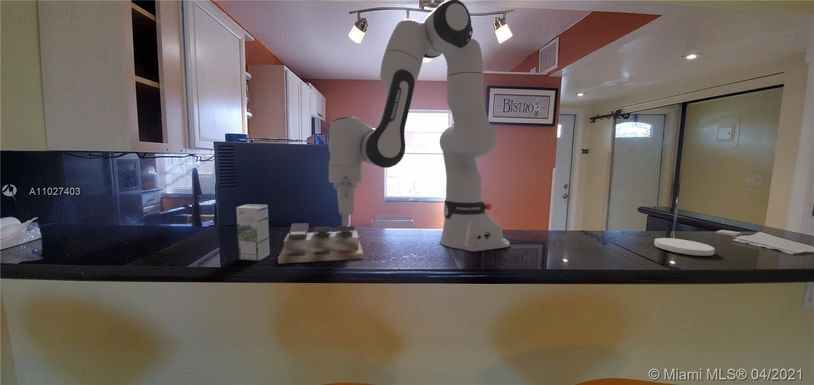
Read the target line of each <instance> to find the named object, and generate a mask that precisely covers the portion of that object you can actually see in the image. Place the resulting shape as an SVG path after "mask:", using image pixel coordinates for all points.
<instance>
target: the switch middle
mask: <svg viewBox="0 0 814 385" xmlns="http://www.w3.org/2000/svg"><path fill="white" fill-rule="evenodd" d="M312 230H313V232H312V233H318V232H332V227H330V226H321V227H320V226H318V227H317V226H316V227H313V229H312Z"/></svg>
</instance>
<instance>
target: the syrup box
mask: <svg viewBox="0 0 814 385" xmlns="http://www.w3.org/2000/svg"><path fill="white" fill-rule="evenodd" d="M236 226H237V241H238V242H237V243H238V258H239V261H255V262H258V261H261V260H263V259H265V258H267V257H268V256H270V254H271V253H270V252H271V251H270V237H269V235H270V232H269V207H268V204H256V203H255V204H254V203H253V204H252V203H251V204H250V203H249V204H247V203H246V204H243V205H240V206H237V207H236Z"/></svg>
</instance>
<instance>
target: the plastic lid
mask: <svg viewBox="0 0 814 385" xmlns="http://www.w3.org/2000/svg"><path fill="white" fill-rule="evenodd" d="M653 241H654V242H653V243H654V244H653V245H654V246H655V247H657V248H659V249H662V250H666V251H669V252H673V253H678V254H683V255H684V254H685V255H692V256H700V257H701V256H706V257H708V256H713V255H714V254H715V250H716V248H715V247H713V246H711V245H709V244H706V243H702V242H699V241H694V240H688V239H687V240H686V239H681V238H671V237H670V238H669V237H659V238H655V239H654V240H653Z"/></svg>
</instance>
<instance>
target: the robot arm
mask: <svg viewBox="0 0 814 385" xmlns="http://www.w3.org/2000/svg"><path fill="white" fill-rule="evenodd" d="M391 33H392V34H391V35H390V38H389V40H388V42H387V45H386V48H385V51H384V54H383V57H382V59H381V60H382V62H381V66H380V74H379V77H380V81H381V82H382V84H383V85H384V86H385V88H386V89H387V93H386V94H387V95H386V100H385V103H384V107H383V112H382V114H381V118H380V122H379V124H378V126H377V127H376V128H373V127H372V126H369V125H368V124H366V123H365V122H363V121H362V120H360V118H359V117H358V116H350V115H349V116H344V117H338V118H336V119H334V120H333V121H332V122H331V123H330V126H329V129H328V130H329V131H328V152H329V162H328V182H329V183H331V184H333V189H334V190H336V195H337V202H338V204H337V205H338V213H339V215H340V216H341V226H350V222H349V220H350V216H351V215H353V214H354V211H355V210H354V209H355V208H354V207H355V206H354V200H355V199H354V195H355V194H354V190H356V189H357V185H358V184H360V183H361V182H362V163H363V162H365V163H367V164H371V165H374V166H377V167H380V168H385V169H388V168H392V167H394V166H397V165H398V164H399V163H400V162H401V161H402V160H403V157H404V155H405V153H406V140H405V139H406V137H405V130H406V124H407V120H408V117H409V115H408V114H409V111H410V108H411V103H412V98H413V94H414V90H415V87H416V84H417V81H418V77H419V75H420V72H421V69H422V65H423V62H424V59H425V58H426V59H435V58H438V57H440V56H441V55H443V57H444V60H445V61H446V66H447V68H446V70H447V71H446V92H447V93H446V98H447V99H446V100H447V101H446V102H447V106H448V107H449V108H450V113H451V115H452V120H453V125H450V126H448V127H447V128H446V129H445V130H444V131H443V132H442V133H441V135H440V139H439V147H440V149H441V150H442V154H443V160H444V166H445V167H444V168H445V176H446V184H445V185H446V187H445V188H446V189H445V190H446V191H445V200H444V205H443V216H444V220H443V221H444V222H443V228H442V233H441V235H440V239H439V243H440V244H441V245H443V246H445V247H448V248H451V249H452V248H453V249H459V250H464V251H469V252H479V251H487V250H495V249H503V248H509V247H510V244H511V243H510V241H509V240H508V239H507V238H505V237H504V236H503V234H504V233H503V229H502V226H501V225H500V224H499V222H498V221H496V220H494V219H493V218H492V217H491V215H489V214H488V213H486V210H487V211H490V210H491V209H492V206H493V205H492V204H491V203H489V202H483V201H481V200H482V199H481V198H482V196H481V195H482V175H481V174H480V172H479V169H478V166H477V161H476V158H480V157H482V156H485V155H487V154H488V153H490V152H492V150H493V149H494V148H495V146H496V143H497V133H496V130H495V128H494V127H493V125H492V124H491V123H490V122H489V118H488V115H487V111H486V108H485V101H484V97H485V96H484V62H483V55H482V49H481V48H482V47H481V45H480V43H479V41H477V40H476V39H475V38H472V36H473V33H474V29H473V27H472V18H471V14H470V11H469V10H468V8H467V5H465V4H464V2H462V1H461V0H446V1H445V0H444V1H443V2H441V3H440V4H439V5H438V6H436V8H435V9H434V10H433V11H431V12H430V13H429V14H428V15H427V16H426V18H425V19H424V20H423V21H422V22H419V21H417V20H414V19H411V18H406V19H402V20H401V21H399V22H398V23H397V24H396V26H395V27H394V29H393V31H392V32H391Z"/></svg>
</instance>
